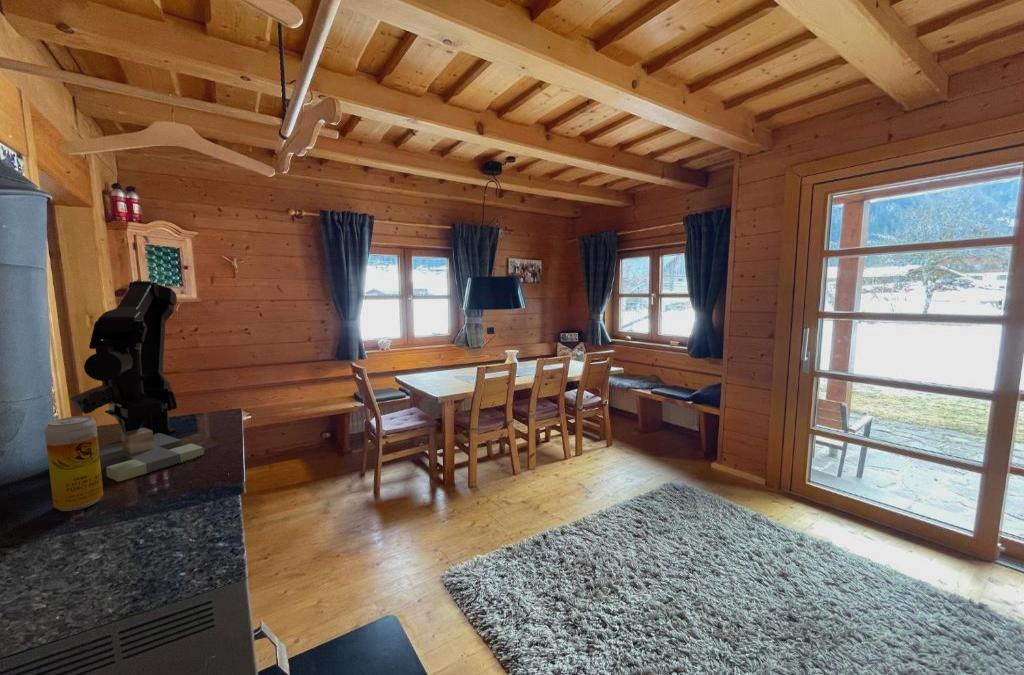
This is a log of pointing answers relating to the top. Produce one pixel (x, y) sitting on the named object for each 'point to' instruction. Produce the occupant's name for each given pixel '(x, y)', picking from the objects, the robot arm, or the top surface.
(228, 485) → the top surface
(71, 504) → the beer can
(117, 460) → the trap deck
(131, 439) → the block
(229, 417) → the top surface
